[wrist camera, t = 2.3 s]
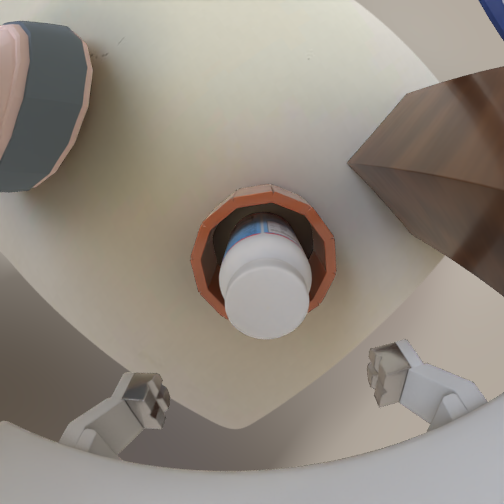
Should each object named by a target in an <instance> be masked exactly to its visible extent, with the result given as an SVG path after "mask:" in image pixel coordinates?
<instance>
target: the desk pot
mask: <svg viewBox="0 0 504 504" xmlns="http://www.w3.org/2000/svg"><path fill="white" fill-rule="evenodd" d="M267 203H274V204H277V205H279V206H282V207H284V208H287V209H290V210H292V211H295V212H297V213H300V214H302V215H304V216H305V217H306V218H307V219H308V221H309V222H310V223H311V229H312V238H313V248H314V249H313V252H312V254H311V256H310V258H309V260H308V262H309V264H310V268H311V273H312V283H311V288H310V291H309V309H308V312H310V311H311V310H313V309H314V308H316V307H317V306H319V303H321V302H322V300H323V298H324V297H325V295H326V293H327V291H328V289H329V287H330V285H331V283H332V281H333V279H334V277H335V275H336V274H335V272H336V253H335V239H334V238H333V237H334V236H333V234H332V233H331V232H330V230H329V229H328V227H327V226H326V225H325V223H324V222H323V221H322V219H321V218H320V217H319V215H318V214H317V212H316V211H315V210H314V208H313V207H312V206H311V205H310V204H309V203H308V202H306V201H305V200H304V199H303V198H302V197H301V196H300V195H298V194H295V193H293V192H290V191H288V190H285V189H283V188H280V187H278V186H275V185H273V184H271V185H270V184H264V185H258V186H251V187H245V188H239V189H238V190H236V191H234V192H233V193H232V194H231V195H229V196H228V197H227V198H226V199H225V200H223V201H222V202H221V203H220V204H219V205H218V206H216V207H215V208H214V209H213V210H212V211H211V213H210V214H209V215H208V216H207V217H206V219H205V220H204V221H203V222H202V224H201V226H200V229H199V232H198V235H197V238H196V241H195V244H194V247H193V250H192V254H191V260H190V261H191V265H192V269H193V273H194V277H195V281H196V284H197V288H198V292H200V295H201V296H202V297H203V298H204V299H205V300H206V301H207V302H208V303H209V304H210V305H211V306H212V307H213V308H214V309H215V310H216V311H217V312H218V313H219V314H220V315H221V316H222V317H223V316H224V318H226V319H228V317H227V314H226V311H225V300H224V298H223V295H222V293H221V290H220V285H219V273H220V268H221V267H220V266H219V265H218V263H217V258H216V254H215V249H214V245H213V240H212V238H213V235H214V232H215V230H216V227H217V224H218V223H220V222H221V221H222V220H223V219H225V218H226V217H227V216H228V215H229V214H231V213H232V212H233V211H234V210H235V209H237V208H241V207H247V206H254V205H260V204H267ZM308 312H307V313H308Z"/></svg>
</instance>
